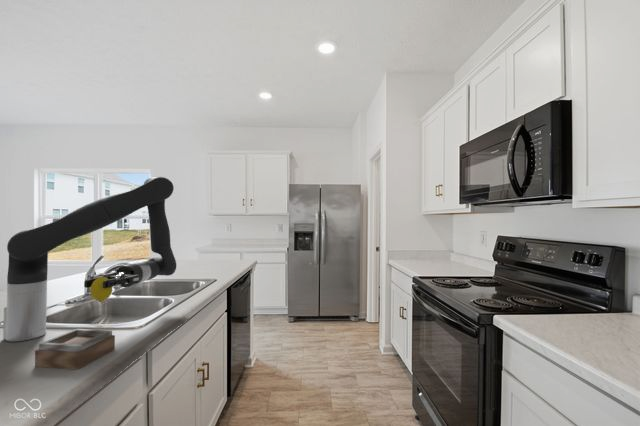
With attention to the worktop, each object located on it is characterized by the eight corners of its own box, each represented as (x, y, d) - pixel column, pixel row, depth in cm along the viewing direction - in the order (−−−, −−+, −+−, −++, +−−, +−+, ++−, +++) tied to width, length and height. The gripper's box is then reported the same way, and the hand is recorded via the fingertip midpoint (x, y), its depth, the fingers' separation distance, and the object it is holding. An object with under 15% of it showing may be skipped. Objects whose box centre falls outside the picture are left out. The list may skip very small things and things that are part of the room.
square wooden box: (34, 366, 80) (35, 344, 80) (76, 346, 92) (76, 327, 92) (78, 369, 78) (78, 347, 78) (114, 349, 90) (114, 330, 90)
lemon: (85, 304, 94) (85, 277, 94) (99, 299, 99) (99, 274, 99) (103, 305, 94) (104, 278, 94) (116, 300, 99) (116, 274, 99)
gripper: (115, 262, 111) (72, 271, 95) (153, 264, 110) (117, 272, 93) (114, 284, 111) (72, 296, 94) (152, 285, 110) (116, 298, 93)
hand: (94, 284), depth 94 cm, fingers closed on lemon, 5 cm apart
